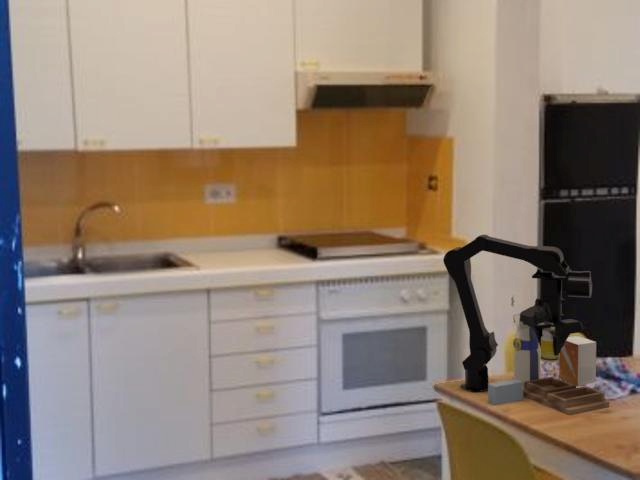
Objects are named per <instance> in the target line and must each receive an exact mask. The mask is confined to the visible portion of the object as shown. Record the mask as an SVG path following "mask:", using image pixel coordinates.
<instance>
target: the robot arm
mask: <svg viewBox="0 0 640 480" xmlns="http://www.w3.org/2000/svg"><path fill="white" fill-rule="evenodd" d="M481 252H487V253H491V254H496V255H498V256H499V255H500V256H504V257H508V258H513V259H516V260H521V261H524V262H527V263H528V264H531V265H532V266H534V267H536V268H537V270H536V271H535V273H534V274H533V275H531V278H532V279H539V293H538V295H539V296H538V297H539V298H535V300H534V305H533V306H530V307H528V308H526V309H525V310H522V311H521V312H519V313H520V321H521V322H523V325H528V326H529V327H531V328H532V329H533V330H534V331H535V333H536V336H537V339H538V342H539V349H541V337H542V336H543V334H542V332H543V329H545V328H552V327H554V329H555V330H554V331H549V332H550V334H551V335H552V336H553V349H554V355H555V356H557V355H559V356H560V351H561V349H562V347H563V345H564V343H565V341H566V340H567V338H568V337H570V335H572V334H578V333H583V323H582V322H581V321H580V320H576V319H572V318H569V319H567V318H566V315H565V314H563V313H562V311H563V310H562V307H563V304H566V299H564V298H563V293H565V294H566V295H567V297H573V298H575V297H576V298H591V297H592V295H593V294H592V293H593V282H592V276H591V275H592V274H591V273H592V271H590V270H583V271H580V270H578V271H577V270H572V269H571V268H570V266H569V265H568V264H567V262H566V261H565V259H564V253H563V252H562V250H561V249H560V248H558V247H556V246H548V245H546V246H545V245H537V246H536V245H527V244H523V243H518V242H513V241H510V240H506V239H502V238H497V237H493V236H489V235H488V234H481V235H480V234H479V235H478V236H477V237H475V239H473V240H471V241H470V242H469V243H467V244H466V245H464V246H462V247H461V246H457V247H455V248H452V249H450V250H448V251H447V252H446V253H445V254H444V256H443V264H444V266H445V269H446V271H447V273H448V275H449V276H450V277H451V280H452V281H454V283H455V287H456V289H457V293H458V296H459V297H458V298H459V300H460V303H461V308H462V311H463V315H464V317H465V321H466V325H467V328H468V331H469V341H468V342H469V343H468V345H469V355H468V356H467V357H466V358H465V359H464V360H463V361H462V362H461V363H462V366H463V367H462V368H463V370H464V371H465V372H464V376H465V378H464V379H465V380H464V382H465V383H464V384H460V387H461V388H463V389H465V390H467V391H470V392H472V393H477V392H482V391H488V384H489V368H488V366H487V364H489V362H490V361H491V360H492V358H494V357H495V355H496V353H497V347H498V346H499V344H498V342H497V340H496V337H495V336H496V335H495V332H494V331H491V332H489V331H488V329H487V328H486V326H485V323H484V320H483V316H482V312H481V309H480V306H479V302H478V298H477V295H476V292H475V289H474V284H473V281H472V262H471V259H472V258H473V257H475V256H476V255H478V254H479V253H481Z"/></svg>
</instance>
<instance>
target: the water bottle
mask: <svg viewBox="0 0 640 480" xmlns="http://www.w3.org/2000/svg"><path fill="white" fill-rule="evenodd" d="M510 302H511V303H510V306H511V307H514V306H515V305H514V303H515V299H514V296H512V297H511V301H510ZM520 313H521V312H518V313H514V314H513V315H512V318H513V327H514V326H515V325H516V332H515V334H514V338H513V340H512V345H513V348H514V352H513V353H514V354H513V377H512V380H514V379H517V380H520V381H522V382H523V387H524V382H526V381H532V380H537V379H542V373H541V372H542V371H541V349H540V345H539V342H538V339H537V336H536V333H535V331H534V330H533V329H532V328H531V327H529V326H528V325H523V322H521V321H520Z"/></svg>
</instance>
